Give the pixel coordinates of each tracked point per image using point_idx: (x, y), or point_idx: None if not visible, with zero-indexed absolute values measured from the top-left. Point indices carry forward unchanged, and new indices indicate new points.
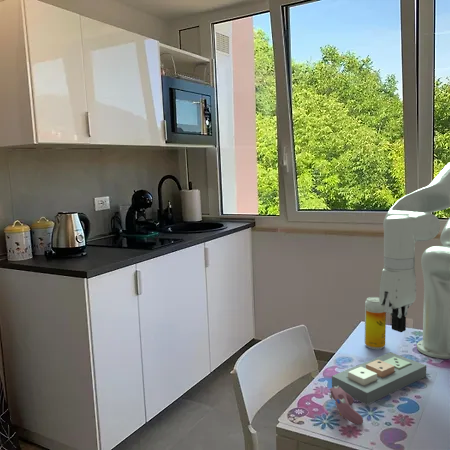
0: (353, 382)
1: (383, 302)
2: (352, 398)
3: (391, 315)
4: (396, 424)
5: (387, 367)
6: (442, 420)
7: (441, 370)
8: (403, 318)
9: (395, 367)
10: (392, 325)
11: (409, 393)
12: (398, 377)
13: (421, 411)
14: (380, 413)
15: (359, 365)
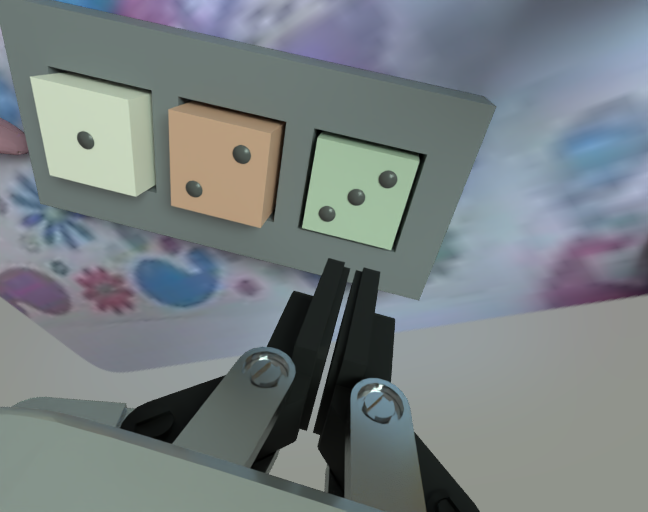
0: None
1: (22, 463)
2: (13, 154)
3: (250, 359)
4: (75, 285)
5: (222, 209)
6: (184, 358)
7: (510, 303)
8: (315, 426)
9: (307, 207)
10: (321, 280)
11: (247, 264)
12: (231, 247)
13: (180, 315)
14: (77, 236)
15: (198, 46)
